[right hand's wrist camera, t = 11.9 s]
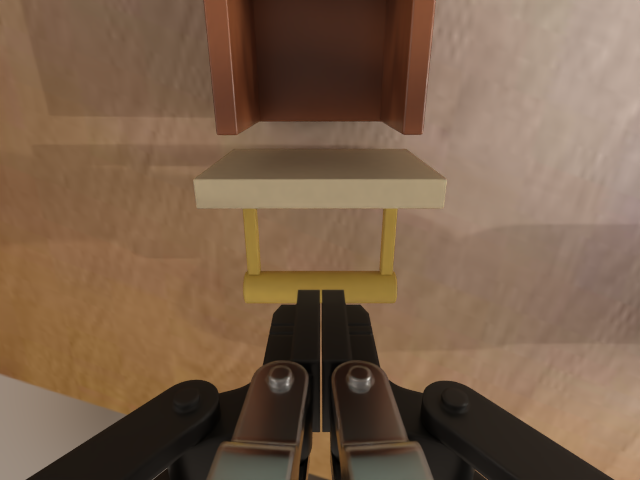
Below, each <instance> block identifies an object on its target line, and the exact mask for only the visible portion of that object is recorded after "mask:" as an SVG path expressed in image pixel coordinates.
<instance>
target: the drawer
mask: <svg viewBox="0 0 640 480" xmlns="http://www.w3.org/2000/svg"><path fill="white" fill-rule="evenodd" d="M435 4H436V0H204V9H205V20H206V30H207V40H208V50H209V60H210V70H211V81H212V91H213V101H214V111H215V121H216V131H217V135H237V134H239V133H241V132H242V131H244V130H246V129H248V128H249V127H251V126H253V125H254V124H256V123H258V122H259V121H382V122H383V123H385V124H387V125H388V126H390V127H392V128H393V129H395V130H397V131H398V132H400V133H402V134H404V135H421V134H422V133H423V129H424V118H425V108H426V97H427V87H428V76H429V66H430V56H431V45H432V35H433V24H434V14H435ZM193 184H194V192H195V200H196V207H197V208H198V209H243V219H244V232H245V244H246V257H247V269H248V271H247V272H246V273H245V276H244V282H243V295H244V300H245V302H246V303H297V295H298V290H320V303H322V290H344V295H345V303H395V301H396V298H397V279H396V275H395V272H394V271H393V261H394V248H395V235H396V222H397V209H429V208H443V207H444V201H445V193H446V185H447V179H446V178H444V177H443V176H442V175H440V174H439V173H438V172H436V171H435V170H434V169H432V168H431V167H430V166H428V165H427V164H426V163H424V162H423V161H422V160H420V159H419V158H418V157H416V156H415V155H414V154H412V153H411V152H409V151H408V150H407V149H234V150H232V151H231V152H230V153H228V154H227V155H226V156H224V157H223V158H222V159H220V160H219V161H218V162H216V163H215V164H213V165H212V166H211V167H209V168H208V169H207V170H205V171H204V172H203V173H201V174H200V175H199V176H197V177H196V178H195V179H193ZM257 209H383V222H382V238H381V254H380V271H261V265H260V249H259V234H258V219H257Z"/></svg>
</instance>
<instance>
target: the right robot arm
mask: <svg viewBox="0 0 640 480" xmlns="http://www.w3.org/2000/svg"><path fill="white" fill-rule="evenodd" d="M312 432H320V290H298V295H297V304H296V305H281V306H280V307H279V308H278V309H277V310H276V311H275V313H274V314H273V318H272V323H271V328H270V334H269V338H268V343H267V347H266V352H265V357H264V362H263V366H262V367H260V368H259V369H258V370H257V371H256V372H255V373H254V375H253V377H252V380H251V382H250V383H249V384H247V385H245V386H243V387H241V388H238V389H235V390H231V391H227V392H223V393H218V390H217V388H216V387H215V386H214V385H213V384H211V383H209V382H207V381H203V380H189V381H185V382H181V383H179V384H176V385H174V386H172V387H171V388H169V389H168V390H166V391H164V392H163V393H161V394H160V395H158V396H157V397H155V398H153V399H152V400H150V401H149V402H147V403H146V404H144V405H142V406H141V407H139V408H138V409H136V410H135V411H133V412H131V413H130V414H128V415H127V416H125V417H124V418H122V419H120V420H119V421H117V422H116V423H114V424H113V425H111V426H109V427H108V428H106V429H105V430H103V431H102V432H100V433H98V434H97V435H95V436H94V437H92V438H91V439H89V440H87V441H86V442H84V443H83V444H81V445H80V446H78V447H76V448H75V449H73V450H72V451H70V452H69V453H67V454H65V455H64V456H62V457H61V458H59V459H58V460H56V461H55V462H53V463H51V464H50V465H48V466H47V467H45V468H44V469H42V470H40V471H39V472H37V473H36V474H34V475H33V476H31V477H29V478H28V479H26V480H152V479H153V478H155V477H156V476H157V475H158V474H160V473H161V472H162V471H163V470H165V469H166V468H167V469H166V470H165V471H163V472H162V473H161V474H160V475H158V476H157V477H156V478H155V479H153V480H308V472H309V463H310V452H311V449H312ZM322 432H330V445H331V446H330V463H331V472H332V480H487V479H488V480H614V479H612V478H611V477H609V476H607V475H606V474H604V473H603V472H601V471H600V470H598V469H597V468H595V467H593V466H592V465H590V464H589V463H587V462H586V461H584V460H582V459H581V458H579V457H578V456H576V455H575V454H573V453H571V452H570V451H568V450H567V449H565V448H564V447H562V446H560V445H559V444H557V443H556V442H554V441H553V440H551V439H549V438H548V437H546V436H545V435H543V434H542V433H540V432H538V431H537V430H535V429H534V428H532V427H531V426H529V425H527V424H526V423H524V422H523V421H521V420H520V419H518V418H516V417H515V416H513V415H512V414H510V413H509V412H507V411H505V410H504V409H502V408H501V407H499V406H498V405H496V404H494V403H493V402H491V401H490V400H488V399H487V398H485V397H483V396H482V395H480V394H479V393H477V392H476V391H474V390H473V389H471V388H469V387H467V386H465V385H463V384H460V383H457V382H453V381H438V382H434V383H432V384H430V385H428V386H427V387H426V388H425V390H424V392H423V393H420V392H416V391H412V390H408V389H405V388H402V387H400V386H397V385H396V384H394V383H392V382H391V381H390V380H388V377H387V375H386V373H385V372H384V371H383V370H382V369H381V368H380V365H379V360H378V355H377V351H376V346H375V341H374V337H373V332H372V327H371V322H370V318H369V313H368V312H367V311H366V310H365V309H364V308H363V307H362V306H361V305H346V303H345V295H344V290H322ZM475 470H477V471H478V472H479V473H480V474H482V475H483V476H484V477H485V478H487V479H485V478H484V477H483V476H482V475H480V474H479V473H478V472H477V471H475Z"/></svg>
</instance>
